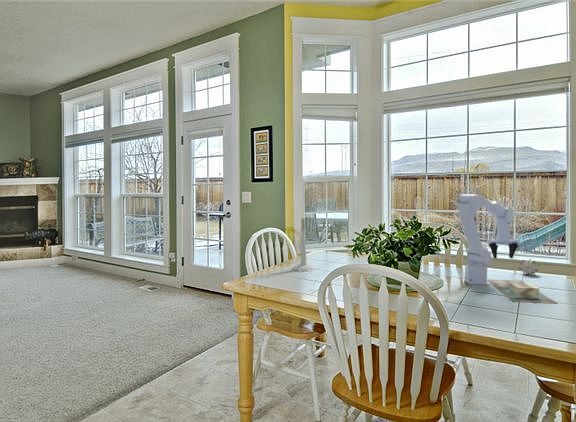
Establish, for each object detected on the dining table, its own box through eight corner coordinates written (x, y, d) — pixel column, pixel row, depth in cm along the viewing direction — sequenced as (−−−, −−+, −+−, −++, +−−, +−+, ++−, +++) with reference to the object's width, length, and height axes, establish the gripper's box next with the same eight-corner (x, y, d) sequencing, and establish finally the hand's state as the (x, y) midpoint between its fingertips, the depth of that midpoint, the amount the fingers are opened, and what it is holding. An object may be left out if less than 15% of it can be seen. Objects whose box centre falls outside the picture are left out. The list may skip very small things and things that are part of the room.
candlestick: (291, 267, 216) (290, 217, 214) (312, 266, 218) (312, 216, 215) (294, 272, 204) (293, 219, 201) (316, 271, 205) (316, 218, 203)
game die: (533, 282, 188) (545, 269, 182) (516, 275, 189) (527, 263, 183) (530, 270, 195) (541, 258, 188) (514, 264, 196) (525, 252, 190)
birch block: (517, 296, 153) (517, 287, 152) (510, 291, 161) (510, 282, 160) (538, 297, 151) (539, 288, 151) (530, 292, 159) (530, 283, 159)
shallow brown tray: (513, 301, 147) (513, 301, 147) (485, 279, 181) (485, 279, 181) (557, 303, 144) (557, 303, 144) (521, 280, 177) (521, 280, 177)
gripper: (491, 232, 178) (491, 259, 179) (523, 232, 176) (522, 259, 177) (485, 230, 185) (485, 256, 186) (515, 230, 183) (515, 256, 184)
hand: (502, 258), depth 182 cm, fingers open, 7 cm apart
